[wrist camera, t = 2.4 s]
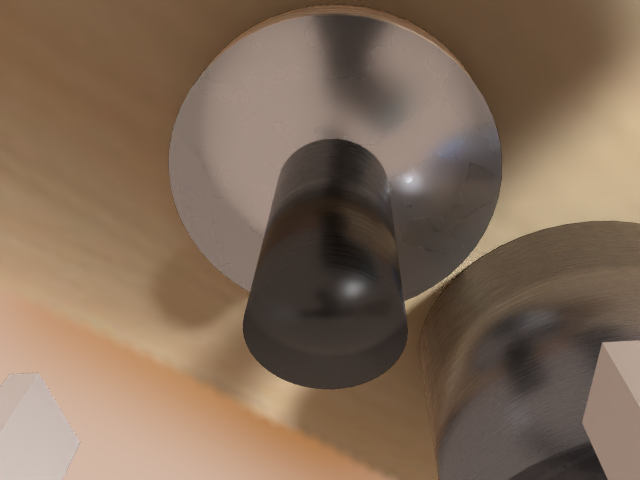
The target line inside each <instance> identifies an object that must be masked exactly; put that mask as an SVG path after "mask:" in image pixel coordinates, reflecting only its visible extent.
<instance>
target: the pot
mask: <svg viewBox="0 0 640 480" xmlns="http://www.w3.org/2000/svg"><path fill="white" fill-rule="evenodd" d="M636 340H639V341H640V224H638V223H630V222H619V221H590V222H582V223H573V224H566V225H562V226H557V227H553V228H548V229H544V230H541V231H538V232H535V233H532V234H529V235H526V236H523V237H520V238H518V239H516V240H514V241H511V242H509V243H507V244H505V245H502V246H500V247H499V248H497V249H495V250H493V251H492V252H490V253H488V254H486V255H485V256H483V257H481V258H480V259H479V260H477V261H476V262H474V263H473V264H472V265H470V266H469V267H468V268H466V269H465V270H464V271H463V272H462V273H461V274H459V275H458V276H457V277H456V278H455V279H454V280H453V281H452V282H451V283H450V284H449V285H448V286H447V288H446V289H445V290H444V291H443V292H442V293H441V295H440V296H439V297H438V299H437V300H436V302H435V304H434V305H433V307H432V308H431V310H430V312H429V314H428V317H427V319H426V321H425V323H424V327H423V331H422V335H421V341H420V357H421V366H422V372H423V379H424V385H425V392H426V398H427V405H428V412H429V418H430V425H431V431H432V438H433V444H434V451H435V457H436V464H437V471H438V477H439V480H608V479H607V477H606V475H605V472H604V470H603V468H602V466H601V464H600V461H599V459H598V457H597V455H596V452H595V450H594V448H593V446H592V444H591V441H590V439H589V437H588V435H587V433H586V430H585V428H584V426H583V424H582V421H583V417H584V413H585V409H586V405H587V401H588V397H589V393H590V389H591V385H592V381H593V377H594V373H595V369H596V365H597V361H598V357H599V353H600V349H601V345H602V342H618V341H636Z"/></svg>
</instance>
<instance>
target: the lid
mask: <svg viewBox="0 0 640 480" xmlns="http://www.w3.org/2000/svg"><path fill="white" fill-rule="evenodd" d="M169 177H170V186H171V190H172V194H173V199H174V203H175V206H176V208H177V211H178V213H179V216H180V219H181V221H182V223H183V225H184V227H185V228H186V230H187V232H188V234H189V236H190V238H191V239H192V240H193V242H194V243H195V244H196V246H197V247H198V249H199V250H200V251H201V253H202V254H203V255H204V256H205V257H206V258H207V259H208V260H209V261H210V262H211V264H212V265H213V266H214V267H216V268H217V269H218V270H219V271H220V272H221V273H223V274H224V275H225V276H226V277H227V278H229V279H230V280H231V281H233V282H234V283H236V284H237V285H239V286H240V287H242V288H243V289H245V290H247V291H249V292H250V294H249V298H248V302H247V306H246V310H245V314H244V320H243V333H244V338H245V341H246V344H247V346H248V348H249V350H250V352H251V353H252V355H253V356H254V357H255V359H256V360H257V361H258V362H259V363H260V364H261V365H262V366H263V367H264V368H266V369H267V370H268V371H269V372H271V373H273V374H274V375H276V376H277V377H279V378H281V379H284V380H286V381H288V382H291V383H293V384H297V385H300V386H304V387H310V388H317V389H340V388H347V387H353V386H356V385H360V384H363V383H366V382H368V381H371V380H373V379H375V378H377V377H379V376H380V375H382V374H383V373H384V372H386V371H387V370H388V369H389V368H391V367H392V366H393V365H394V364H395V362H396V361H397V360H398V359H399V357H400V356H401V354H402V352H403V350H404V348H405V345H406V341H407V334H408V328H407V320H406V312H405V305H404V301H406V300H408V299H410V298H413V297H415V296H417V295H419V294H421V293H423V292H424V291H426V290H428V289H430V288H431V287H433V286H435V285H436V284H437V283H439V282H440V281H441V280H443V279H444V278H446V277H447V276H448V275H449V274H451V273H452V272H453V271H454V270H455V269H456V268H457V267H458V266H459V265H460V264H461V263H462V262H463V261H464V260H465V259H466V258H467V256H468V255H469V254H470V253H471V252H472V251H473V249H474V248H475V247H476V245H477V244H478V242H479V240H480V239H481V237H482V236H483V234H484V233H485V231H486V229H487V227H488V224H489V222H490V220H491V218H492V216H493V213H494V210H495V207H496V204H497V200H498V197H499V191H500V185H501V179H502V154H501V147H500V140H499V135H498V132H497V128H496V125H495V122H494V118H493V116H492V113H491V111H490V109H489V107H488V105H487V103H486V101H485V99H484V97H483V95H482V94H481V92H480V91H479V89H478V88H477V86H476V84H475V83H474V81H473V80H472V78H471V77H470V76H469V74H468V73H467V71H466V70H465V68H464V67H463V65H462V64H461V63H460V61H459V60H458V59H457V58H456V57H455V56H454V55H453V54H452V53H451V52H450V51H449V50H448V49H447V48H446V47H445V46H444V45H443V44H442V43H440V42H439V41H438V40H437V39H435V38H434V37H433V36H432V35H430V34H429V33H428V32H426V31H424V30H423V29H421V28H419V27H417V26H416V25H414V24H412V23H410V22H409V21H406V20H404V19H401V18H399V17H396V16H394V15H391V14H389V13H386V12H382V11H378V10H374V9H370V8H366V7H359V6H349V5H320V6H311V7H306V8H301V9H296V10H291V11H288V12H285V13H282V14H280V15H277V16H274V17H271V18H269V19H267V20H265V21H263V22H261V23H259V24H257V25H255V26H253V27H251V28H249V29H248V30H247V31H245V32H244V33H242V34H241V35H240V36H238V37H237V38H235V39H234V40H233V41H231V42H230V43H229V44H228V45H227V46H226V47H225V48H224V49H223V50H222V51H221V52H220V53H219V54H218V55H217V56H216V57H215V58H214V59H213V61H212V62H211V63H210V64H209V66H208V67H207V68H206V69H205V71H204V72H203V73H202V74H201V76H200V77H199V78H198V80H197V81H196V82H195V84H194V85H193V86H192V87H191V89H190V91H189V93H188V95H187V96H186V98H185V100H184V102H183V104H182V105H181V108H180V110H179V113H178V116H177V118H176V121H175V124H174V127H173V132H172V137H171V141H170V147H169Z"/></svg>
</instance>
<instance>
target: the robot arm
mask: <svg viewBox="0 0 640 480" xmlns="http://www.w3.org/2000/svg"><path fill="white" fill-rule="evenodd" d="M582 424H583V426H584V428H585V430H586V433H587V435H588V437H589V439H590V441H591V444H592V446H593V448H594V450H595V452H596V455H597V457H598V459H599V461H600V464H601V466H602V468H603V470H604V472H605V475H606V477H607V479H608V480H640V341H639V340H636V341H618V342H602V345H601V349H600V353H599V357H598V361H597V365H596V369H595V373H594V377H593V381H592V385H591V389H590V393H589V397H588V401H587V405H586V409H585V413H584V417H583V421H582ZM79 444H80V441H79V440H78V438H77V437H76V435H75V433H74V431H73V430H72V428H71V426H70V425H69V423H68V421H67V419H66V418H65V416H64V414H63V413H62V411H61V409H60V408H59V406H58V404H57V403H56V401H55V399H54V398H53V396H52V394H51V392H50V391H49V389H48V388H47V386H46V384H45V382H44V381H43V379H42V377H41V376H40V374H39V373H21V374H9V375H8V377H7V378H6V380H5V381H4V382H3V384H2V385H1V387H0V480H62V479H63V477H64V475H65V473H66V471H67V469H68V467H69V465H70V462H71V461H72V459H73V457H74V455H75V452H76V450H77V448H78V446H79Z"/></svg>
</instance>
